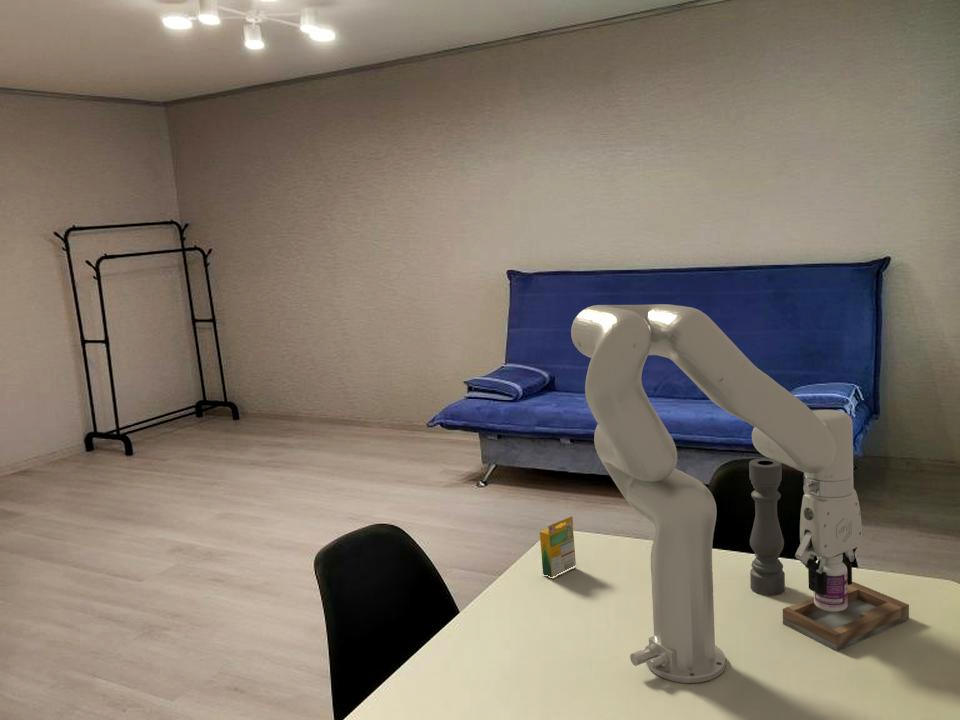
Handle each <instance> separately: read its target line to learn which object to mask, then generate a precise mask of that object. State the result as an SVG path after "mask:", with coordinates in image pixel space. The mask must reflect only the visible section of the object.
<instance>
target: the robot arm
mask: <svg viewBox="0 0 960 720" xmlns="http://www.w3.org/2000/svg"><path fill="white" fill-rule="evenodd" d="M570 330H571V331H570V333H571V334H570V335H571V340H572V344H573V345H574V346H575V348H576V349H577V351H579V352H580V353H581V354H582V355H584V356H585V357H588V358H589V359H590V361H589V364H588V368H587V372H586V377H585V384H584V385H585V386H584V393H585V400H586V403H587V406H588V408H589V410H590V412H591V414H592V416H593V418H594V420H595V421H596V422H597V424H596V427H595V430H594V436H593V437H594V438H593V442H594V447H595V451H596V454H597V455H598V458H599V459H600V461H601V463H602V465H603V466H604V468H605V470H606V471H607V472H608V474H609V477H611V479H612V481H613V482H614V484H615V485H616V487H617V489H618V490H619V491H620V493H621V495H622V496H623V497H624V499H625V500H626V501H627V504H628V505H630V507H631V508H632V509H633V510H634V511H636V512H637V513H638V514H640V515H641V516H643V517H644V518H645V519H647V520H648V521H649V522H650V523H652V524H653V525H654V528H655V529H654V530H655V533H654V534H655V535H654V537H653V541H652V546H651V551H650V575H651V578H650V579H651V596H652V599H651V600H652V617H653V618H652V619H653V622H652V623H653V636H651V637H648V645H646V646H645V648H644V649H641V650H638V651H635V652H633V653H630V654H629V655H630V656H629V657H630V658H629V659H630V662H631V664H632V665H633V666H635V667H638V666H640V665H642V664H645V663H646V665H647V667H648V669H650V671H651V672H653V673H654V674H655V675H657V676H658V677H661V678H664V679H666V680H669V681H673V682H676V683H683V684H684V683H685V684H694V683H704V682H708V681H710V680H713V679H716V678H717V677H718V676H720V675H721V674H722V673H723V672H724V670H725V669H726V665H727V664H726V663H727V661H726V656H725V653H724V652H723V650H722V649H721V648H720V647H718V646H717V645H716V642H715V641H716V639H715V638H716V637H715V610H714V609H715V608H714V607H715V604H714V602H715V601H714V576H713V575H714V573H713V540H714V533H715V529H716V528H715V527H716V522H717V514H718V513H717V512H718V511H717V510H718V509H717V504H716V503H717V502H716V500H715V498H714V496H713V493H712V492H711V491H710V489H709V488H708V487H707V486H706V485H705V484H704V483H703V482H702V481H700V480H699V479H697V478H695V477H693V476H692V475H690V474H687V473H685V471H682V470H679V469H677V468H676V465H677V462H678V451H677V447H676V444H675V441H674V439H673V437H672V435H671V434H670V433H669V431H668V429H667V428H666V426H665V424H664V423H663V421H662V419H661V418H660V416H659V415H658V413H657V411H656V410H655V408H654V406H653V404H652V403H651V401H650V400H649V398H648V395H647V393H646V391H645V389H644V386H643V383H642V374H643V369H644V366H645V363H646V361H647V358H648V356H658V357H663V358H667V359H669V360H671V361H672V362H673V363H674V364H675V365H676V366H677V367H678V368H679V369H680V370H681V371H682V373H684V374H685V375H686V376H687V377H688V378H689V379H690V380H691V381H692V383H694V384H695V385H696V387H698V389H699V390H700V391H701V392H703V393H704V395H706V397H707V398H708V399H709V400H710V401H711V402H712V403H714V404H715V405H716V406H718V407H719V408H721V410H723V411H725V412H727V413H728V414H730V415H732V416H733V417H736V418H737V419H740V420H741V421H743V422H745V423H748V424H749V425H751V426H753V429H752V431H751V441H752V444H753V446H754V448H755V449H756V451H757V452H759V453H760V454H761V455H762V456H764V457H765V458H767V459H772V460H775V461H777V462H780V463H781V464H783V465H785V466H788V467H790V468H793V469H795V470H797V471H800V472H803V487H802V488H803V489H802V490H803V493H804V494H803V496H802V500H801V507H800V516H799V517H800V520H799V541H800V542H799V543H800V544H799V546H798V547H797V550H796V552H795V553H794V557H795V558H796V559H797V560H798V561H799V562H801V564H802V565H804V566H805V568H806V569H807V571H808V575H807V576H808V589H809V590H810V591H812V592H813V593H814V592H816V593H819V594H821V595H826V594H827V577H826V572H823V570H824V566H825V561H826V558H830V557H833V556H836V555H839V554H841V553H842V554H843V560H842V562H843V563H844V564H845V565H846V567H847V583H848V585H851V584H852V582H853V566H852V565H853V563H852V562H854V560H855V553H856V551H857V550H858V547H860V546H861V544H862V542H863V537H864V534H863V526H862V517H861V516H862V515H861V507H860V502H859V498H858V497H859V496H858V494H857V491H856V489H855V487H854V438H853V437H854V436H853V435H854V434H853V433H854V432H853V431H854V427H853V419H852V417H851V416H850V415H849V414H848V413H846V412H844V411H840V410H836V409H816V410H813V411H812V410H811V408H809V407H808V405H806V403H804V402H803V401H801V400H800V399H799V398H798V397H797V396H796V395H794V394H793V393H791V392H790V391H789V390H787V389H786V388H785V387H783V386H782V385H781V384H779V383H778V382H777V381H776V380H774V379H773V378H772V377H770V376H769V375H768V374H766V373H765V372H764V371H762V370H761V369H759V368H758V367H757V366H756V365H755V364H754V363H753V362H752V361H751V360H750V359H749V358H748V357H747V356H746V355H745V354H744V353H743V352H742V350H741V349H740V348H738V346H737V345H736V344H735V343H734V342H733V341H732V339H730V338H729V337H728V335H726V333H724V332H723V330H722V329H721V328H720V327H719V326H718V325H717V324H716V323H715V322H714V320H712V319H711V318H710V317H709V316H708V315H707V313H704V312H703V311H702V310H699V309H697V308H695V307H691V306H685V305H676V304H669V303H668V304H665V303H663V304H662V303H660V304H659V303H658V304H657V303H655V304H596V305H591V306H588V307H586V308H584V309H582V310H581V311H580V312H579V313H578V314H577V315H576V317H575V318H574V319H573V321H572V325H571V329H570ZM815 557H816V558H817V557H819V558H818V559H817V560H818V562H817V563H816V561H815Z"/></svg>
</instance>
